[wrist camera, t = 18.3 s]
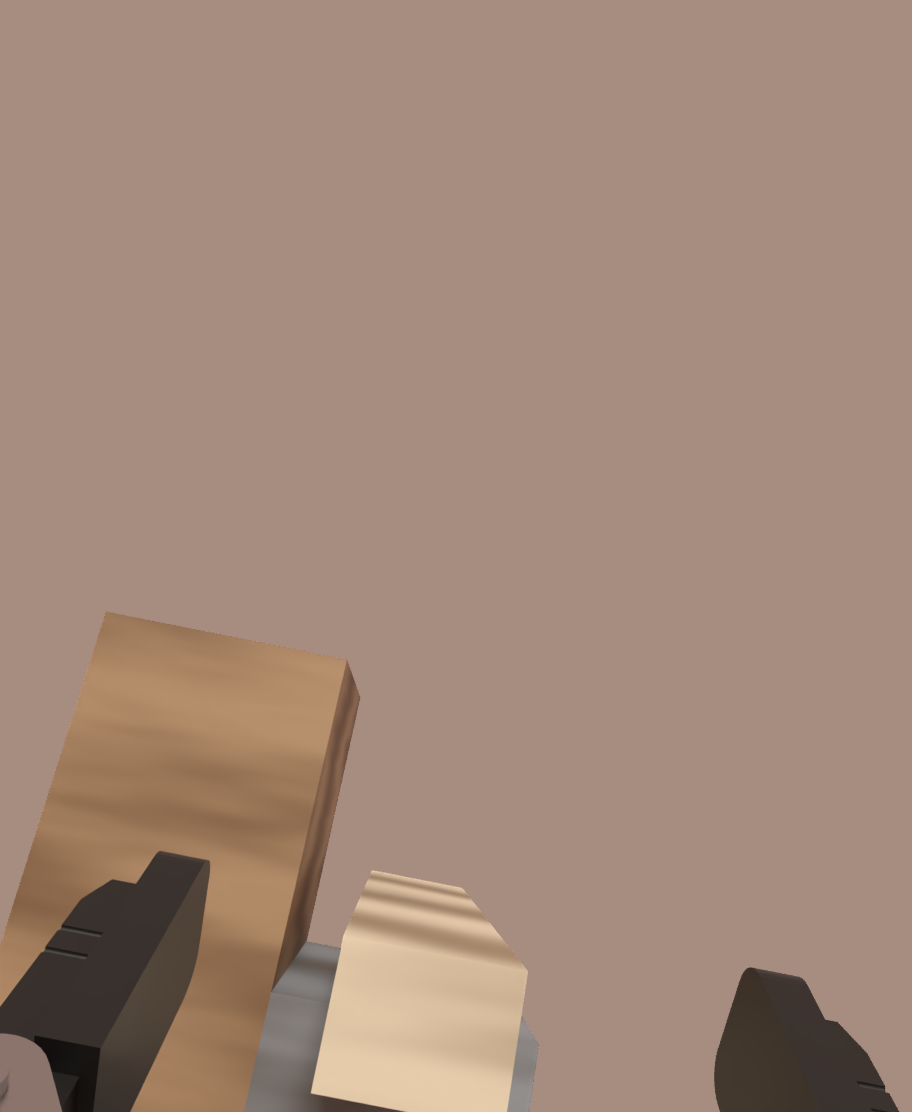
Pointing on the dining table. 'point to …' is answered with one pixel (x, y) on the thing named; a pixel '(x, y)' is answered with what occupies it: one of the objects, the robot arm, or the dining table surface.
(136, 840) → the stepped stand
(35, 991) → the robot arm
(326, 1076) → the birch bar
